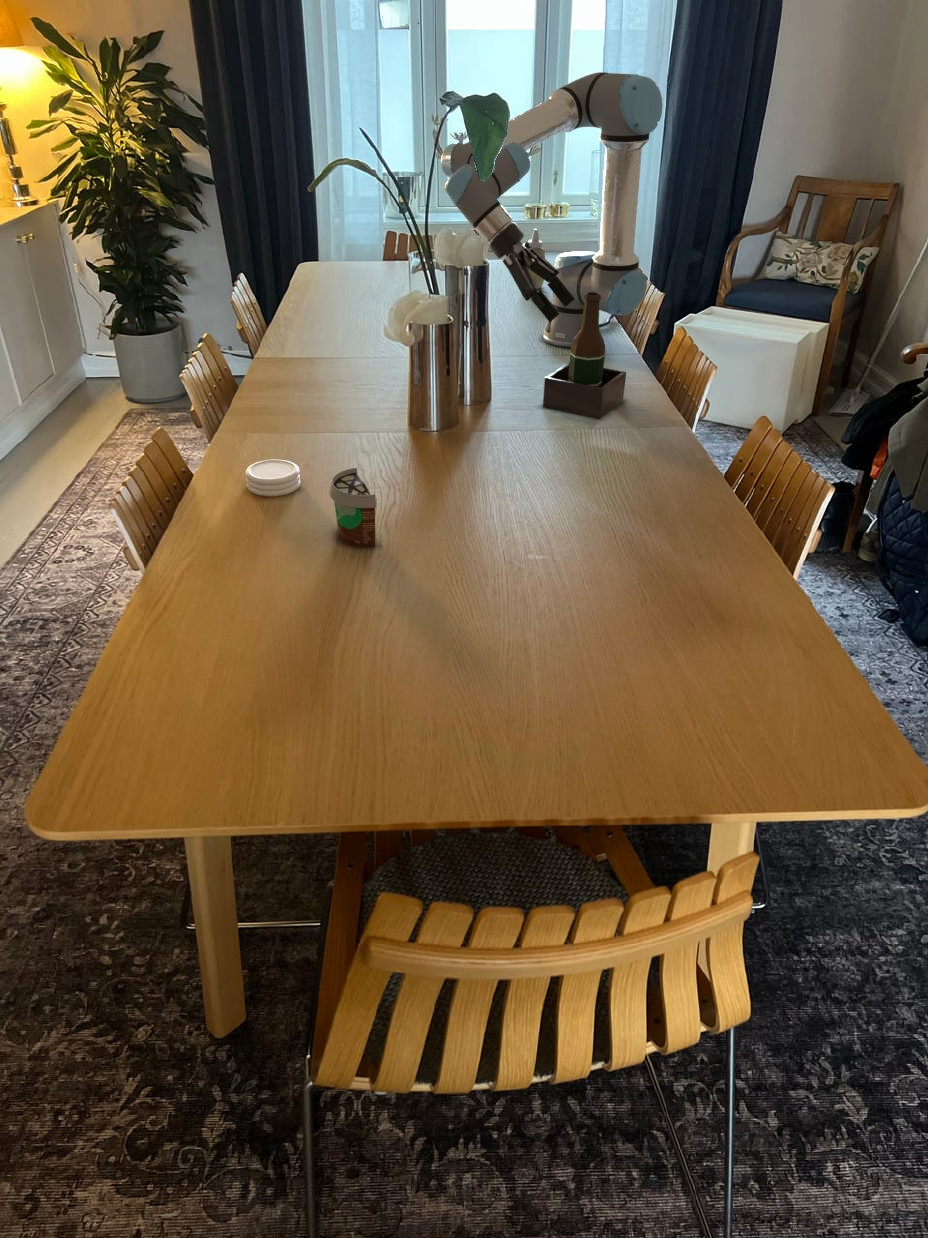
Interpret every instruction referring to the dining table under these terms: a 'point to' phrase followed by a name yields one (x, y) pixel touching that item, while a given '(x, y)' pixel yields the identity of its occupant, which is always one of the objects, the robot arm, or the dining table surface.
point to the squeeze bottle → (537, 246)
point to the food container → (353, 509)
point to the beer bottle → (588, 346)
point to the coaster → (272, 478)
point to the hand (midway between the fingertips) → (562, 310)
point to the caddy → (583, 393)
